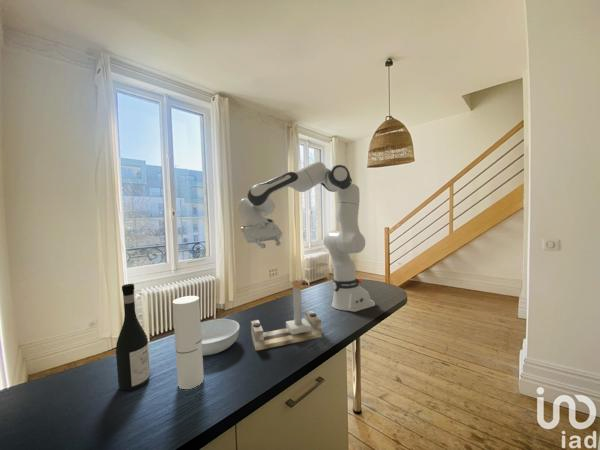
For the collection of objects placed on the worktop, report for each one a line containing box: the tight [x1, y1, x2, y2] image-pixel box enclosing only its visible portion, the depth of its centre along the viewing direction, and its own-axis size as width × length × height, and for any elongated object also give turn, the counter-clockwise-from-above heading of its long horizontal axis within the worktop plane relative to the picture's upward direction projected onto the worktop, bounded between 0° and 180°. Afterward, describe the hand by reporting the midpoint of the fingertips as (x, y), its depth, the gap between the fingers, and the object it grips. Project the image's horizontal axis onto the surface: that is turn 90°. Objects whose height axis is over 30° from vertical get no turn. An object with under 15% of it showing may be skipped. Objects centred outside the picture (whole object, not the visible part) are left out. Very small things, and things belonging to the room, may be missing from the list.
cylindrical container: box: [172, 295, 205, 390], centre depth 77 cm, size 7×7×25 cm
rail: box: [250, 310, 323, 352], centre depth 102 cm, size 26×10×7 cm, turn 109°
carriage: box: [285, 280, 311, 334], centre depth 103 cm, size 8×8×20 cm
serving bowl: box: [201, 318, 240, 356], centre depth 97 cm, size 21×21×7 cm
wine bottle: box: [115, 283, 151, 391], centre depth 77 cm, size 8×8×30 cm
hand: (271, 246), depth 120 cm, fingers open, 8 cm apart
